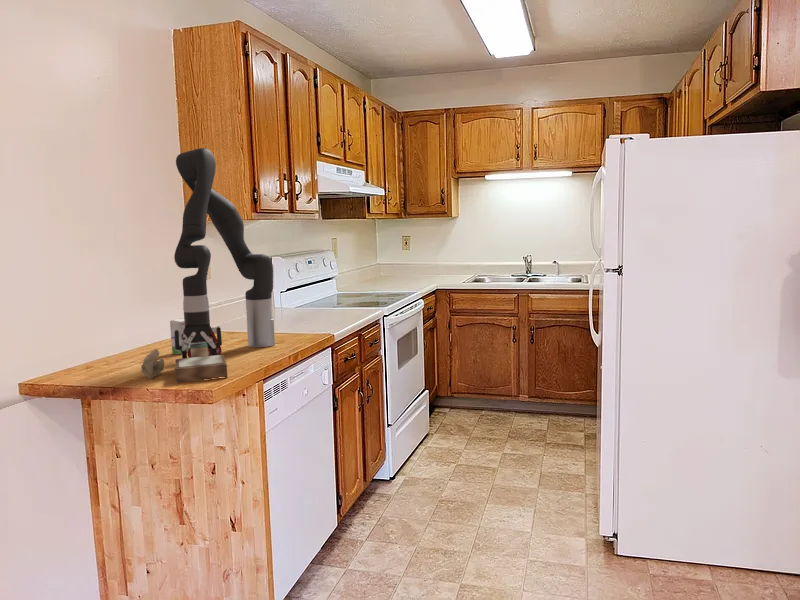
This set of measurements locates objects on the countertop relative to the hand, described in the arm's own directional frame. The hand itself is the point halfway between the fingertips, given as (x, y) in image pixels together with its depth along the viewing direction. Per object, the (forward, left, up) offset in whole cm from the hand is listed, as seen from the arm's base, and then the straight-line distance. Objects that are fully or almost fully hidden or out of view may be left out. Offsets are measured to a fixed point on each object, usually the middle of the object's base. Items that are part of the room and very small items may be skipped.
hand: (199, 361), depth 195 cm
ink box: (+4, -26, -2) cm, 26 cm away
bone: (+14, +8, -2) cm, 16 cm away
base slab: (0, +13, -2) cm, 13 cm away
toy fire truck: (-2, -13, -2) cm, 13 cm away
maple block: (0, 0, -2) cm, 2 cm away
